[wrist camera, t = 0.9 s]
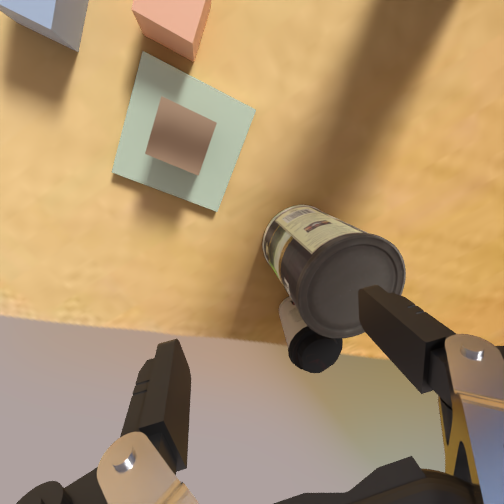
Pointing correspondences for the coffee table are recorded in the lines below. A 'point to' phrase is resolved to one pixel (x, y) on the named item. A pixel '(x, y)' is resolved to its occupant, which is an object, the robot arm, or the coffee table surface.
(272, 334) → the coffee table surface
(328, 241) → the coffee can
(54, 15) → the slate block
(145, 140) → the baseplate
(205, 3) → the terracotta block
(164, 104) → the walnut block
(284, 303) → the coffee cup
